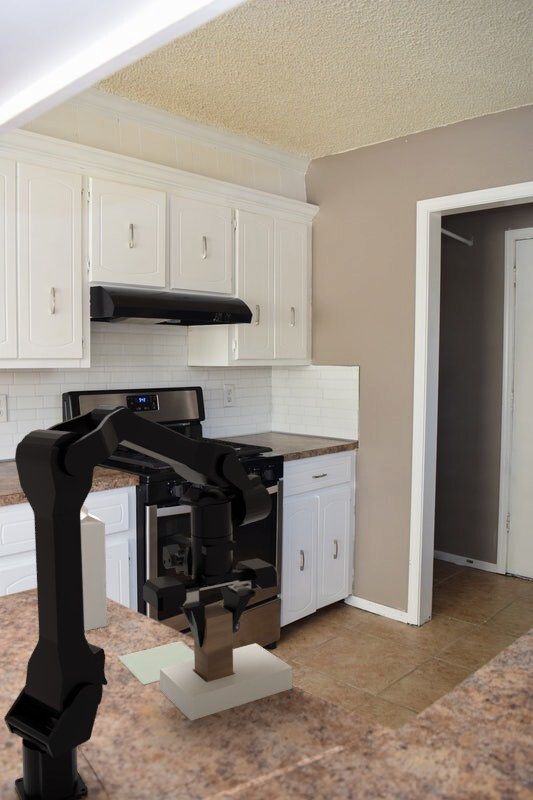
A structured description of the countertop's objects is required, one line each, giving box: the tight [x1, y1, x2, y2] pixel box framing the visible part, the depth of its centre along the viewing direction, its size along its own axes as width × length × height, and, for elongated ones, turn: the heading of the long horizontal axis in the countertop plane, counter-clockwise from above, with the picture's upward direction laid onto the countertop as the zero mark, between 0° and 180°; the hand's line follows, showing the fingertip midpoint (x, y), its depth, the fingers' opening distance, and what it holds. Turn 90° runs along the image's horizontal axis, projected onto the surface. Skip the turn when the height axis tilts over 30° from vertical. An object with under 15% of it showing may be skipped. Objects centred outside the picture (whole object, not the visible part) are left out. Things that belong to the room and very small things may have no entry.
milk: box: [80, 503, 108, 632], centre depth 122 cm, size 6×6×22 cm
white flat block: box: [159, 642, 293, 721], centre depth 97 cm, size 10×16×4 cm, turn 122°
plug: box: [193, 604, 234, 682], centre depth 96 cm, size 4×4×9 cm
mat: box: [117, 641, 195, 686], centre depth 106 cm, size 11×11×1 cm
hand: (213, 642), depth 96 cm, fingers closed on plug, 4 cm apart
